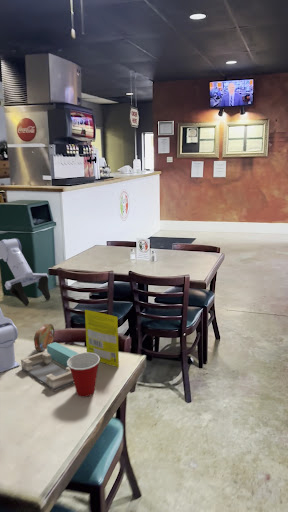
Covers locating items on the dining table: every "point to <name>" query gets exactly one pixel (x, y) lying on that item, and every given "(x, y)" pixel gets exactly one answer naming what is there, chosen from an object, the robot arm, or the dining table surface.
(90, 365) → the plastic cup
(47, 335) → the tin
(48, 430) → the dining table surface
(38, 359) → the cradle
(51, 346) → the slat
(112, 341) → the food package
